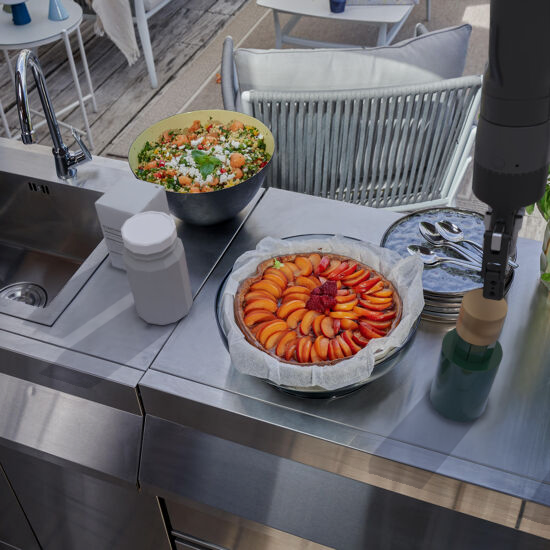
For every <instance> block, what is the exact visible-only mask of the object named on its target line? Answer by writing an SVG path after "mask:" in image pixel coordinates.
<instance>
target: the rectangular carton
mask: <svg viewBox="0 0 550 550" xmlns="http://www.w3.org/2000/svg"><path fill="white" fill-rule="evenodd" d="M94 207H95V211H96V214H97V218H98V221H99V225H100V227H101V231H102V234H103V238H104V241H105V242H104V243H105V245H106V248H107V252H108V256H109V259H110V262H111V266H112V267H114V268H116V269H119V270H123V271H126V267H125V264H124V259H123V254H122V251H123V250H124V248H125V246H124V242H123V238H122V233H121V228H122V226H123V225H124V223H125V221H126V220H128V219H129V218H131V217H133V216H134V215H136V214H138V213H143V212H148V211H156V212H164V213H166V214H167V215H169V216H170V217H171V213H170V208H169V203H168V198H167V192H166V187H165V185H162V184H158V183H153V182H149V181H146V180H142V179H138V178H136V177H131V176H127V175H122V176H121V177H120V178H119V179H118V180H117V181H116V182H115V183H114V184H113V185H112V186H111V187H110V188H109V189H108V190H107V191H106V192H105V193H103V194H102V195H101V196H100V197H99V198H98V199H97V200H96V201H95V202H94Z"/></svg>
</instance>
